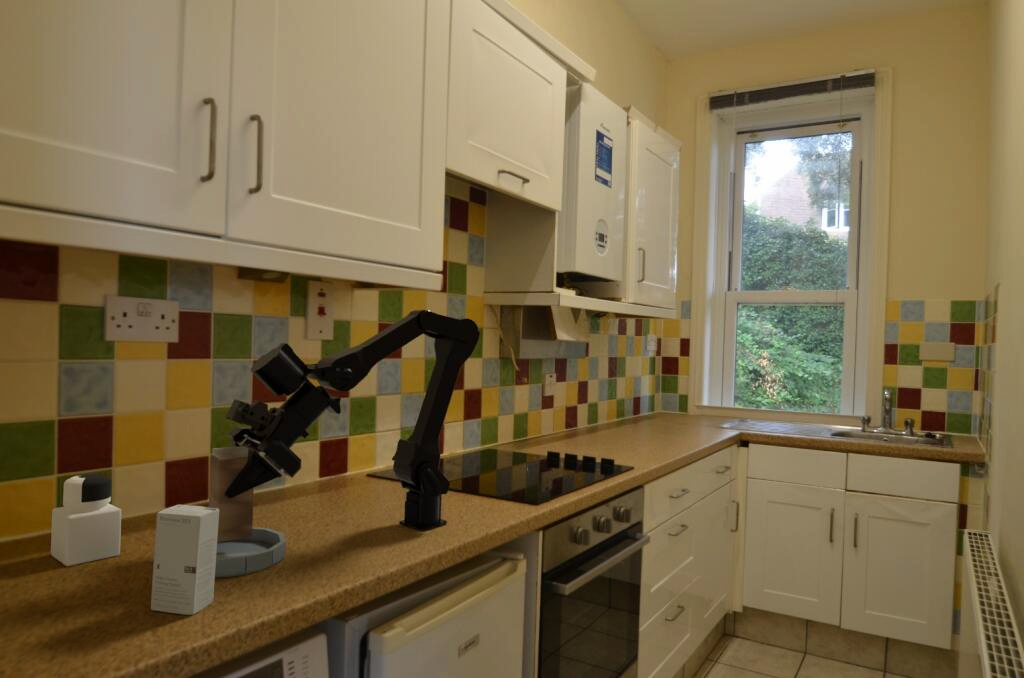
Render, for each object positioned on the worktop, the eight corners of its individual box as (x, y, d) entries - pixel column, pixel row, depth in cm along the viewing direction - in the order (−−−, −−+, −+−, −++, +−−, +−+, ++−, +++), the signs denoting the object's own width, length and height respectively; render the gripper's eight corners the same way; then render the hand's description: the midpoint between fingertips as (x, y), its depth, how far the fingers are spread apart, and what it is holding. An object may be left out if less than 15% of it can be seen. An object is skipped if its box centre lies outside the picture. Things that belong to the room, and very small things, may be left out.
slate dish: (246, 536, 110) (247, 521, 110) (305, 557, 100) (306, 540, 100) (148, 560, 97) (149, 543, 97) (205, 586, 87) (206, 568, 87)
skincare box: (148, 611, 79) (152, 512, 79) (173, 597, 84) (176, 503, 84) (194, 616, 78) (198, 516, 78) (217, 601, 83) (220, 506, 83)
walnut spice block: (242, 528, 102) (244, 445, 102) (252, 536, 98) (254, 450, 98) (208, 533, 99) (210, 448, 99) (217, 542, 95) (219, 453, 95)
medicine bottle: (103, 545, 103) (105, 469, 103) (120, 555, 98) (123, 476, 98) (49, 555, 97) (52, 475, 97) (65, 567, 93) (68, 483, 93)
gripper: (242, 377, 108) (167, 449, 101) (282, 385, 94) (197, 469, 87) (288, 421, 113) (219, 493, 106) (332, 436, 99) (256, 519, 92)
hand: (221, 492), depth 98 cm, fingers closed on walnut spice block, 5 cm apart
